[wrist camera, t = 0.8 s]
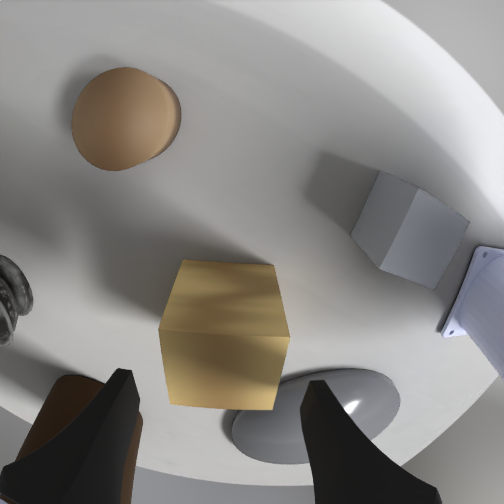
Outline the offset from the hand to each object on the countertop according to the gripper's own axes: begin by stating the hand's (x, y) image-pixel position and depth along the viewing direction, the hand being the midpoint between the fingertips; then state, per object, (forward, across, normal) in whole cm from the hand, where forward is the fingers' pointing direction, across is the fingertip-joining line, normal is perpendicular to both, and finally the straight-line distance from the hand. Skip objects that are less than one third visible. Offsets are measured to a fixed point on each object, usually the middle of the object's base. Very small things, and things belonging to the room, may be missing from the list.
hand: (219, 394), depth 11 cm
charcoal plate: (+7, -9, +14) cm, 18 cm away
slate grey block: (+7, -9, -6) cm, 13 cm away
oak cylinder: (+7, +5, -10) cm, 13 cm away
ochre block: (+7, 0, 0) cm, 7 cm away
